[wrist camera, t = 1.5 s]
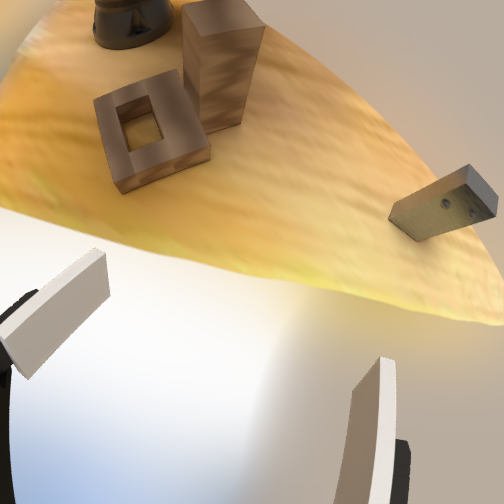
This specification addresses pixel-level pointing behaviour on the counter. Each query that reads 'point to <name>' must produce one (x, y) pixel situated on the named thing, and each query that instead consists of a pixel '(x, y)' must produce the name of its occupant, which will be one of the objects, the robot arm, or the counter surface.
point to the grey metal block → (446, 205)
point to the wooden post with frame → (185, 95)
